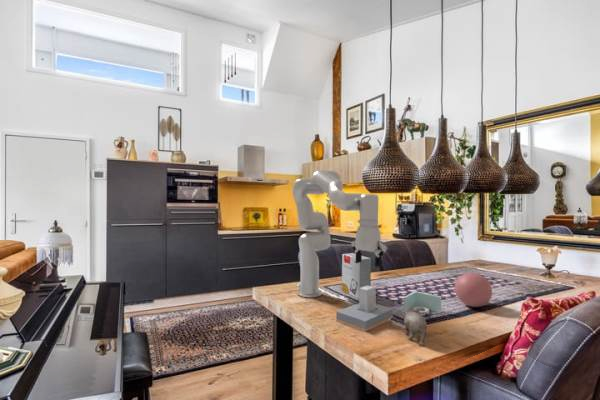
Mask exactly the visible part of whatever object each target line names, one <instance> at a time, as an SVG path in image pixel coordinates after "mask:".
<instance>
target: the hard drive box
mask: <svg viewBox="0 0 600 400" xmlns="http://www.w3.org/2000/svg"><path fill="white" fill-rule="evenodd" d="M371 265H372V258H371V257H367V256H364V255H362V259H361V262H359V263H356V253H355V252H350V253H342V254H341V292H342V291H343V292H344V293H345V294H349V295H350V296H351V297H352V296H353V297H354V298H356V297H357V299H358V298H359V288H361V287H364V286H367V285H368V286H372V284H371V280H372V279H371V277H372V276H371V274H372V273H371V272H372V266H371Z"/></svg>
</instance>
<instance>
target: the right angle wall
mask: <svg viewBox="0 0 600 400" xmlns="http://www.w3.org/2000/svg"><path fill="white" fill-rule="evenodd" d="M410 307H411V308H412V309H413V310H417V309H419V311H418V312H417V313H421V314H424V313H425V314H428V315H429V314H430V310H431V311H432V312H435V311H436V313H439V312H440V313H439V314H441V313H442V295H441V296H440V295H436V294H430V293H426V292H421V291H417V290H414V291H412V292H410V293H408V294H407V295H405V296H403V313H404V312H407V311H409V309H411V308H410ZM420 310H421V311H420Z"/></svg>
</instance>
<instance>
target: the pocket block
mask: <svg viewBox="0 0 600 400" xmlns="http://www.w3.org/2000/svg"><path fill="white" fill-rule="evenodd" d="M335 313H336V318H335V321H336V322H337V323H340V324H343V325H346V326H349V327H351V328H352V329H356V330H358V331H362V332H368V331H370V330H372V329H374V328H376V327H379V326H380V325H382V324H384V323H386V322H388V321H390V320H391V319H390V318H391V317H393V318H394V308H393V307H387V306H385V305H381V304H377V303H376V310H374V311H372V312H370V313H367V312H363V311H360V310H359V302H358V303H356V304H353V305H350V306H348V307H345V308H342V309H339V310H337V311H336V312H335ZM389 319H390V320H389ZM387 320H388V321H387Z"/></svg>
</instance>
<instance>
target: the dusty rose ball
mask: <svg viewBox="0 0 600 400" xmlns="http://www.w3.org/2000/svg"><path fill="white" fill-rule="evenodd" d="M454 293H455V295H456V297H457V298H458V300H459V301H461V303H463V305H465V306H469V307H473V308H480V307H482V306H485V305H486V304H488V303H489V302H490V300H491V298H492V295H493V288H492V286H491V283H490V282H489V280H488V279H487V278H486V277H484V276H483V275H482V274H479V273H476V272H466V273H463V274H462V275H460V276H459V277H458V278H457V279H456V281H455V284H454Z"/></svg>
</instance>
